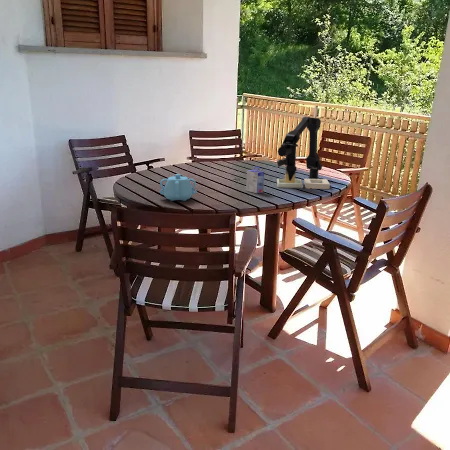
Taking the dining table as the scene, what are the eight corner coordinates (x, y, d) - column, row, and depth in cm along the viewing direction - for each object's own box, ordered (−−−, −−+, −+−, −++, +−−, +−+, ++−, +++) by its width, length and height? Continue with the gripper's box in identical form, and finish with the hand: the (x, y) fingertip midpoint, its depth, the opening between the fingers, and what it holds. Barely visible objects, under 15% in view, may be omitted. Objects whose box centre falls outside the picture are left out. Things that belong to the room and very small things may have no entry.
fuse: (284, 181, 279) (285, 170, 277) (294, 181, 279) (295, 170, 277) (284, 182, 276) (285, 171, 273) (294, 183, 275) (295, 171, 273)
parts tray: (277, 182, 285) (277, 178, 284) (300, 183, 284) (301, 179, 283) (277, 187, 272) (277, 183, 271) (302, 188, 271) (302, 184, 270)
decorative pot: (182, 194, 255) (181, 170, 251) (199, 199, 243) (199, 174, 239) (157, 198, 245) (156, 173, 241) (174, 204, 233) (173, 178, 229)
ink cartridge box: (264, 192, 259) (264, 167, 255) (256, 193, 256) (257, 168, 252) (252, 189, 267) (253, 165, 262) (245, 190, 264) (246, 166, 259)
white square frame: (304, 183, 284) (304, 178, 283) (326, 183, 283) (326, 179, 282) (305, 188, 270) (306, 183, 269) (329, 189, 269) (329, 184, 268)
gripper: (277, 151, 281) (276, 176, 286) (278, 156, 264) (277, 182, 269) (295, 152, 281) (293, 176, 285) (297, 157, 263) (295, 183, 268)
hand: (289, 179), depth 277 cm, fingers closed on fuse, 4 cm apart
